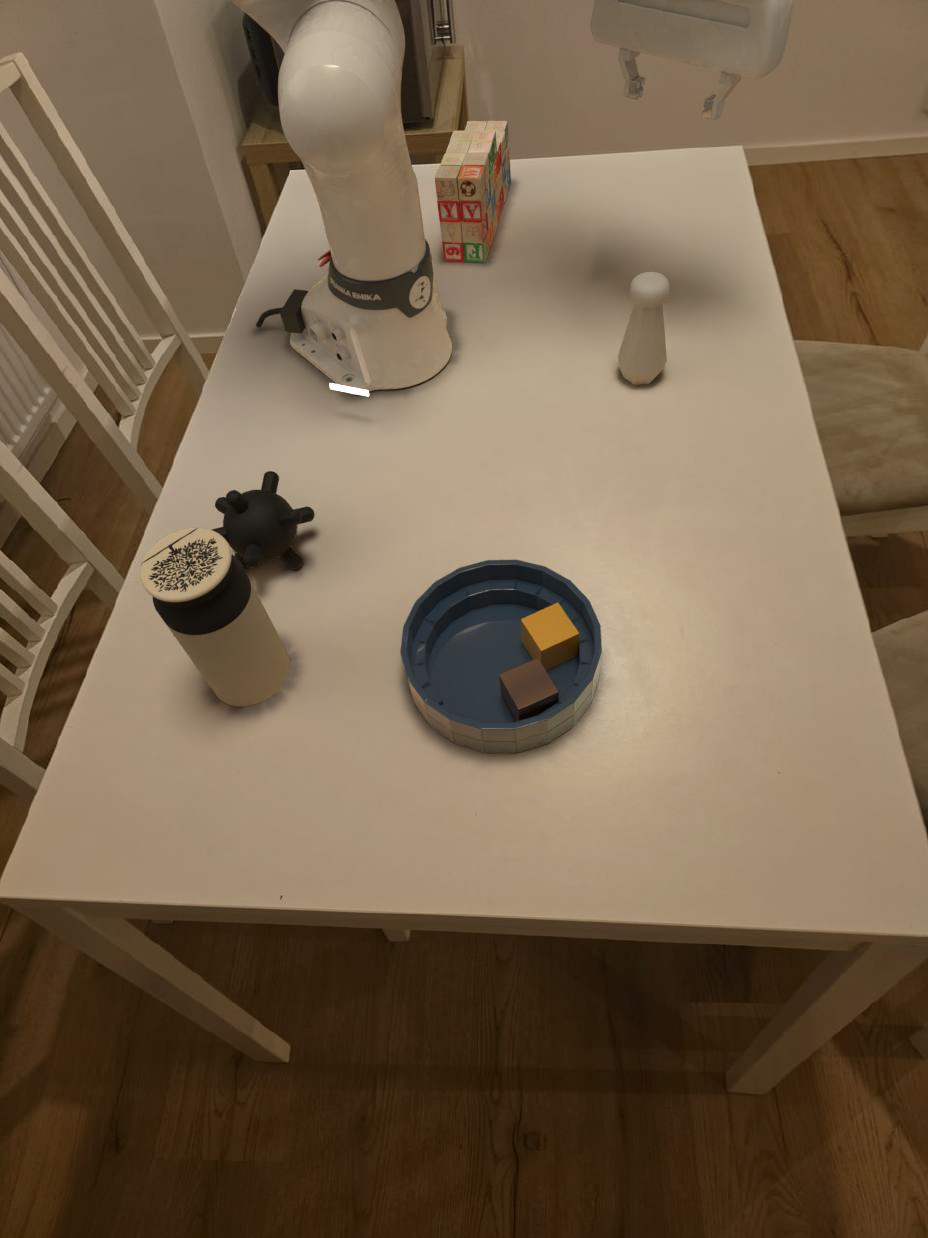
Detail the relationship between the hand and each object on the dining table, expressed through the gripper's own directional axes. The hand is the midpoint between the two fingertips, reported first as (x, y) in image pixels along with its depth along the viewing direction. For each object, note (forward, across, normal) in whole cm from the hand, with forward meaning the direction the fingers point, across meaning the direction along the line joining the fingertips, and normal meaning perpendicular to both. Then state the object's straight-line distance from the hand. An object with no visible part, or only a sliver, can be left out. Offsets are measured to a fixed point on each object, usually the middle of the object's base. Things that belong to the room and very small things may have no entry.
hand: (671, 107), depth 86 cm
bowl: (+31, +17, -52) cm, 63 cm away
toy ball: (+32, -13, -54) cm, 64 cm away
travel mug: (+33, -3, -67) cm, 74 cm away
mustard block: (+30, +20, -48) cm, 60 cm away
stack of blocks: (+24, -32, +8) cm, 41 cm away
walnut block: (+30, +21, -54) cm, 66 cm away
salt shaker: (+26, +6, -9) cm, 28 cm away
